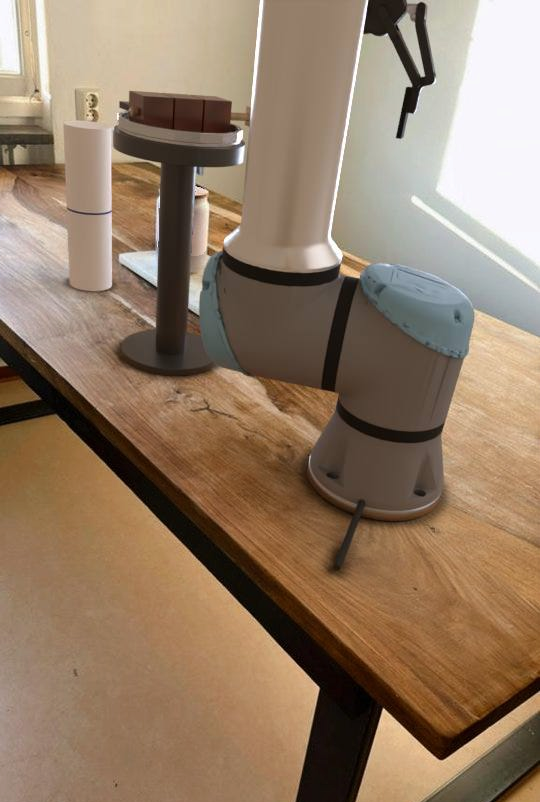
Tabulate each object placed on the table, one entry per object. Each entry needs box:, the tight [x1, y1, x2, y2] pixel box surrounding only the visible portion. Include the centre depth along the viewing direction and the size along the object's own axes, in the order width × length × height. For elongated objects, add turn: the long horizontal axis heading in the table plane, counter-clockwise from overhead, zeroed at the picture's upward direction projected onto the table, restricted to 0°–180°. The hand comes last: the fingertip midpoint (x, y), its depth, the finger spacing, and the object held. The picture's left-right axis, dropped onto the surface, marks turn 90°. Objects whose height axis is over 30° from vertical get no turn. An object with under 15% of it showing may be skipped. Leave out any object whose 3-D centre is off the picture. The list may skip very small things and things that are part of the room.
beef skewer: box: [128, 90, 251, 133], centre depth 86 cm, size 25×4×4 cm, turn 125°
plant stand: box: [112, 100, 246, 377], centre depth 94 cm, size 16×23×30 cm
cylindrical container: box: [62, 119, 113, 292], centre depth 113 cm, size 7×7×25 cm
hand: (354, 130), depth 103 cm, fingers open, 13 cm apart
